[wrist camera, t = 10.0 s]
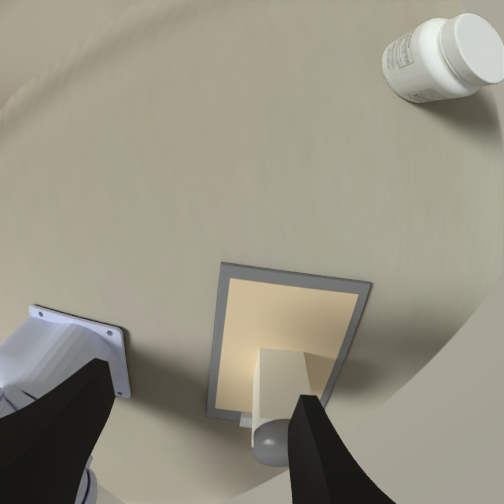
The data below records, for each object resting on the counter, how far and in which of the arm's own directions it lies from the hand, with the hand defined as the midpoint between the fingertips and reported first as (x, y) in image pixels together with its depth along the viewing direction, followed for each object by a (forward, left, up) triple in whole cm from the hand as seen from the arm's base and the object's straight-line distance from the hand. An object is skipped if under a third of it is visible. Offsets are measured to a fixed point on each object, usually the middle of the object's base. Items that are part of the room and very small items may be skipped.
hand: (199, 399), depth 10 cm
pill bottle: (+10, +16, -11) cm, 21 cm away
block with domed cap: (+5, -6, -10) cm, 13 cm away
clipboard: (+5, -6, -10) cm, 13 cm away
